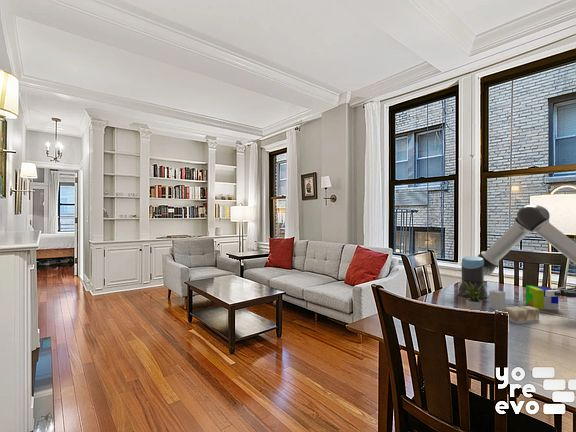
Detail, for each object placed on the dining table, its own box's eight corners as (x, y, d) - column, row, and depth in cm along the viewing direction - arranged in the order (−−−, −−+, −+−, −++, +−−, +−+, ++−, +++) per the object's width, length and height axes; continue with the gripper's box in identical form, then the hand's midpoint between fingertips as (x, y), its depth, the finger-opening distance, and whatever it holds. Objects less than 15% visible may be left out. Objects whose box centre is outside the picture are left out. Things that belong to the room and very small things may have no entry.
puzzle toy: (558, 309, 159) (558, 290, 159) (536, 308, 161) (536, 290, 161) (546, 304, 169) (546, 286, 169) (525, 303, 171) (525, 285, 171)
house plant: (449, 309, 161) (449, 278, 161) (468, 306, 166) (468, 276, 166) (474, 317, 148) (474, 284, 148) (494, 314, 153) (494, 281, 152)
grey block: (489, 307, 164) (489, 290, 164) (495, 306, 166) (495, 289, 166) (499, 310, 159) (499, 293, 159) (505, 309, 161) (505, 292, 161)
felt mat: (521, 315, 150) (521, 315, 150) (539, 322, 142) (539, 321, 142) (500, 317, 149) (500, 316, 149) (517, 323, 140) (517, 323, 140)
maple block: (529, 306, 149) (504, 307, 147) (539, 309, 144) (513, 310, 142) (529, 316, 149) (504, 317, 147) (539, 319, 144) (513, 321, 142)
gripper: (603, 302, 144) (560, 305, 140) (574, 295, 157) (534, 297, 153) (603, 287, 144) (560, 289, 140) (574, 281, 157) (534, 282, 153)
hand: (546, 293), depth 147 cm, fingers closed
